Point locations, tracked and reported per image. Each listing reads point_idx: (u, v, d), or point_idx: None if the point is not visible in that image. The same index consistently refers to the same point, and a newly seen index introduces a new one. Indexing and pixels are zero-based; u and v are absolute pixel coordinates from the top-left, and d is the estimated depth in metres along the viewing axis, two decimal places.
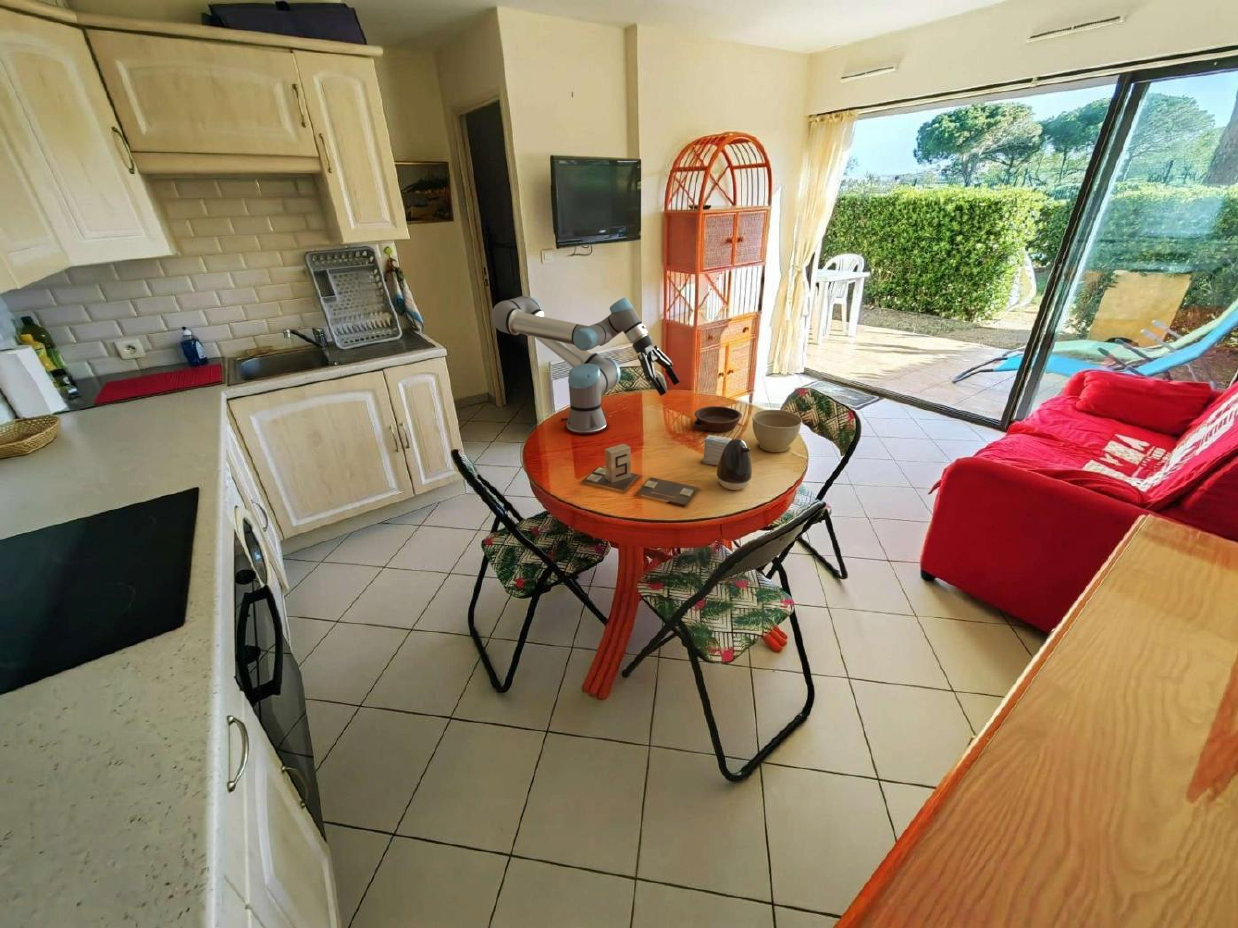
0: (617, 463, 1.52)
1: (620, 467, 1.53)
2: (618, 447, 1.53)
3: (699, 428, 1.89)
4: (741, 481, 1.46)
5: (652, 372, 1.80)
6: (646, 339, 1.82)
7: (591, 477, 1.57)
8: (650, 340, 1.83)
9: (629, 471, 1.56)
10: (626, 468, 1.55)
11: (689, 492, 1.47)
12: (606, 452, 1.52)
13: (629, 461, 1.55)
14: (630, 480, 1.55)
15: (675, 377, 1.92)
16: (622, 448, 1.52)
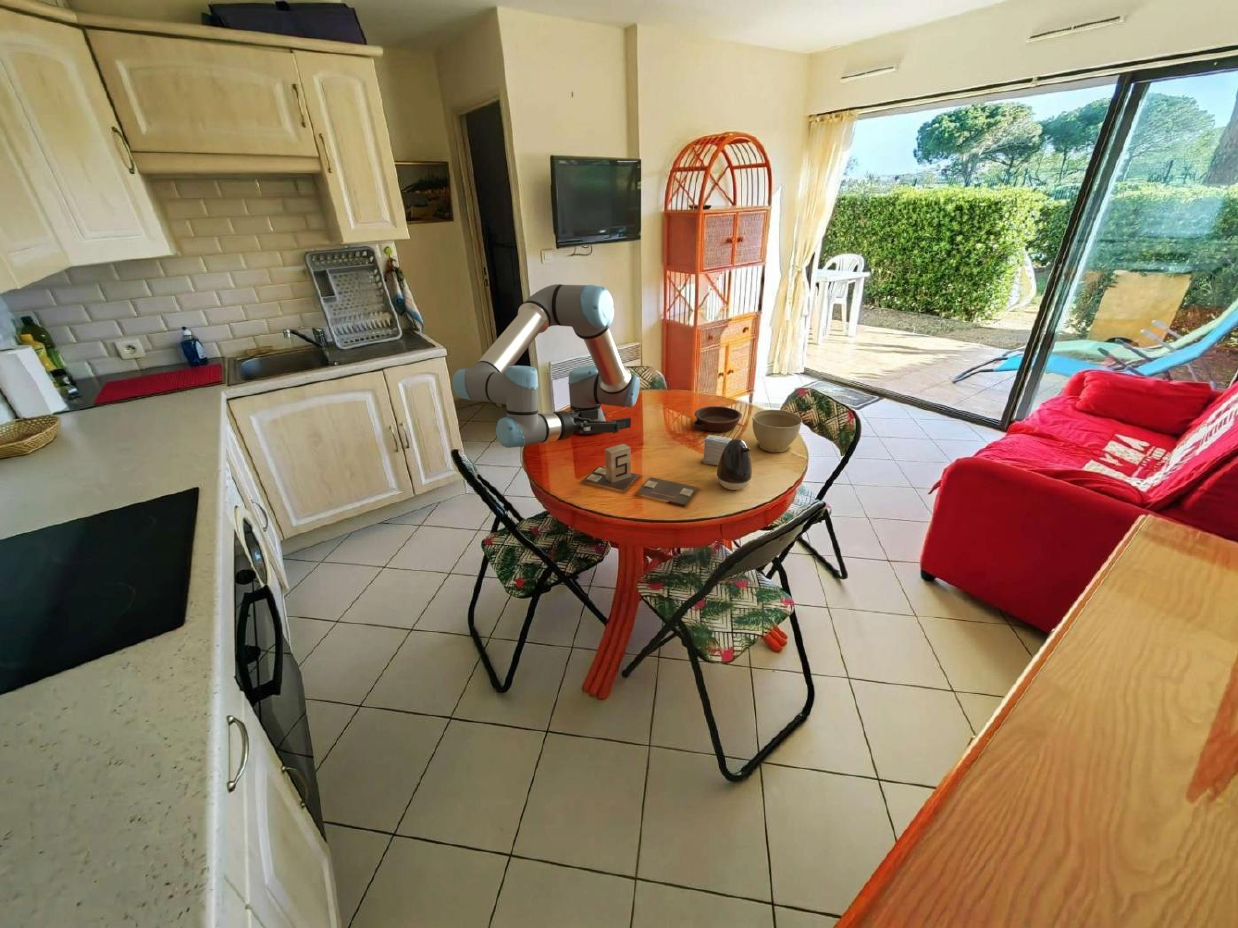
0: (617, 463, 1.52)
1: (620, 467, 1.53)
2: (618, 447, 1.53)
3: (699, 428, 1.89)
4: (741, 481, 1.46)
5: None
6: None
7: (591, 477, 1.57)
8: None
9: (629, 471, 1.56)
10: (626, 468, 1.55)
11: (689, 492, 1.47)
12: (606, 452, 1.52)
13: (629, 461, 1.55)
14: (630, 480, 1.55)
15: None
16: (622, 448, 1.52)
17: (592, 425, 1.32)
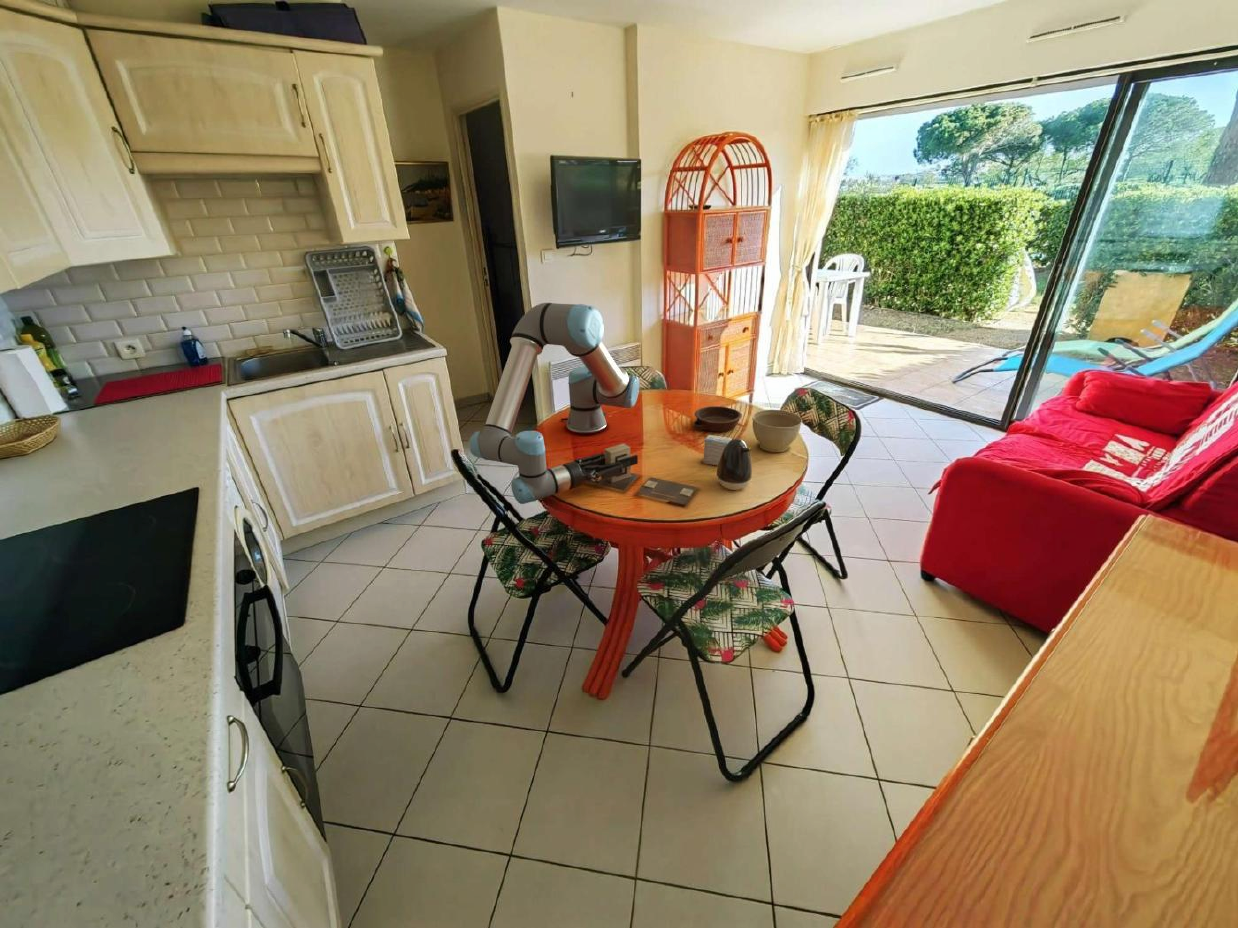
0: None
1: None
2: (618, 447, 1.53)
3: (699, 428, 1.89)
4: (741, 481, 1.46)
5: None
6: None
7: None
8: None
9: (629, 471, 1.56)
10: (626, 468, 1.55)
11: (689, 492, 1.47)
12: (606, 452, 1.52)
13: None
14: (630, 480, 1.55)
15: None
16: (622, 447, 1.52)
17: (602, 474, 1.45)
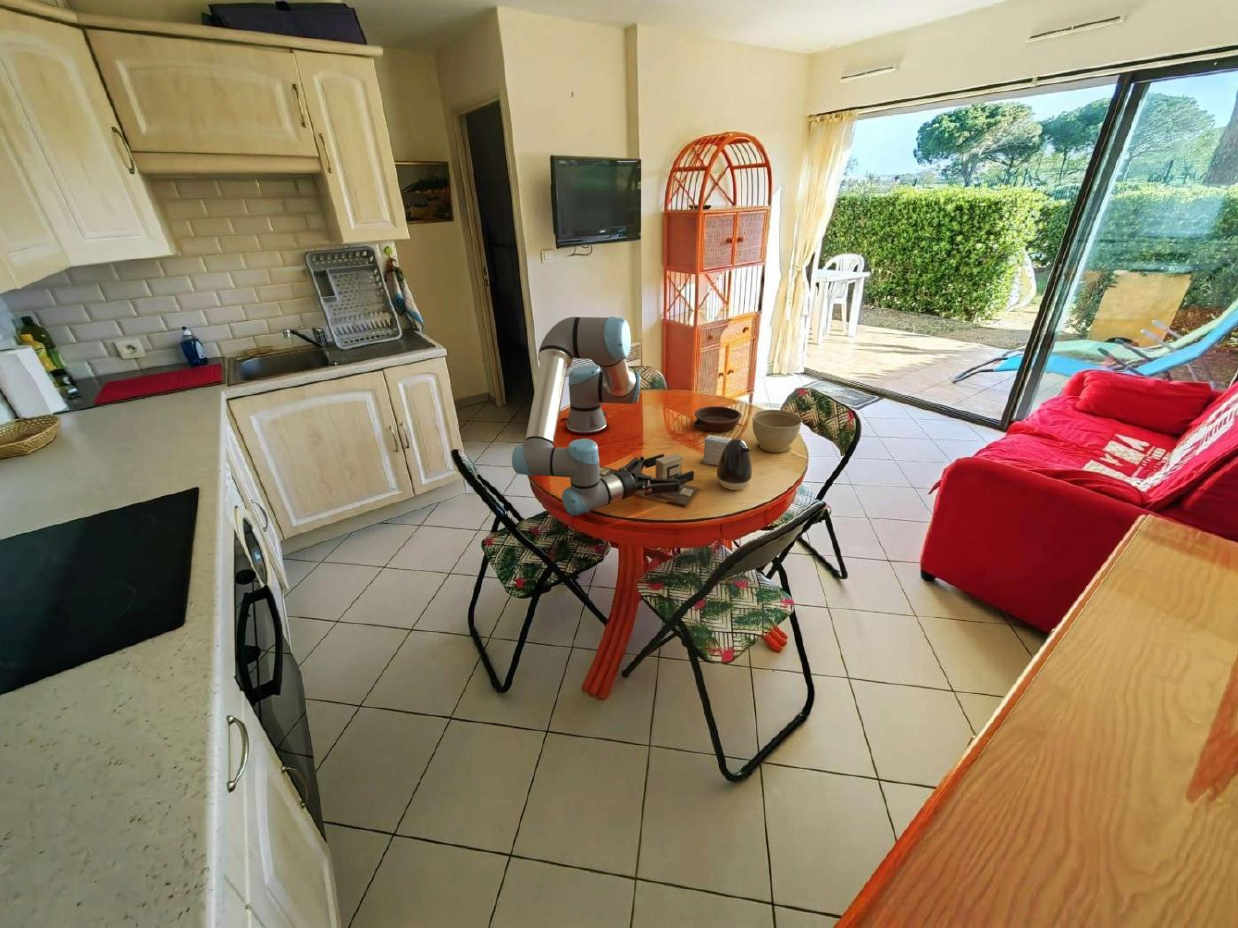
0: (669, 474, 1.45)
1: (671, 478, 1.47)
2: (669, 457, 1.46)
3: (699, 428, 1.89)
4: (741, 481, 1.46)
5: None
6: None
7: None
8: None
9: None
10: None
11: (689, 492, 1.47)
12: (657, 462, 1.45)
13: (680, 471, 1.48)
14: None
15: None
16: (674, 458, 1.46)
17: (653, 487, 1.36)
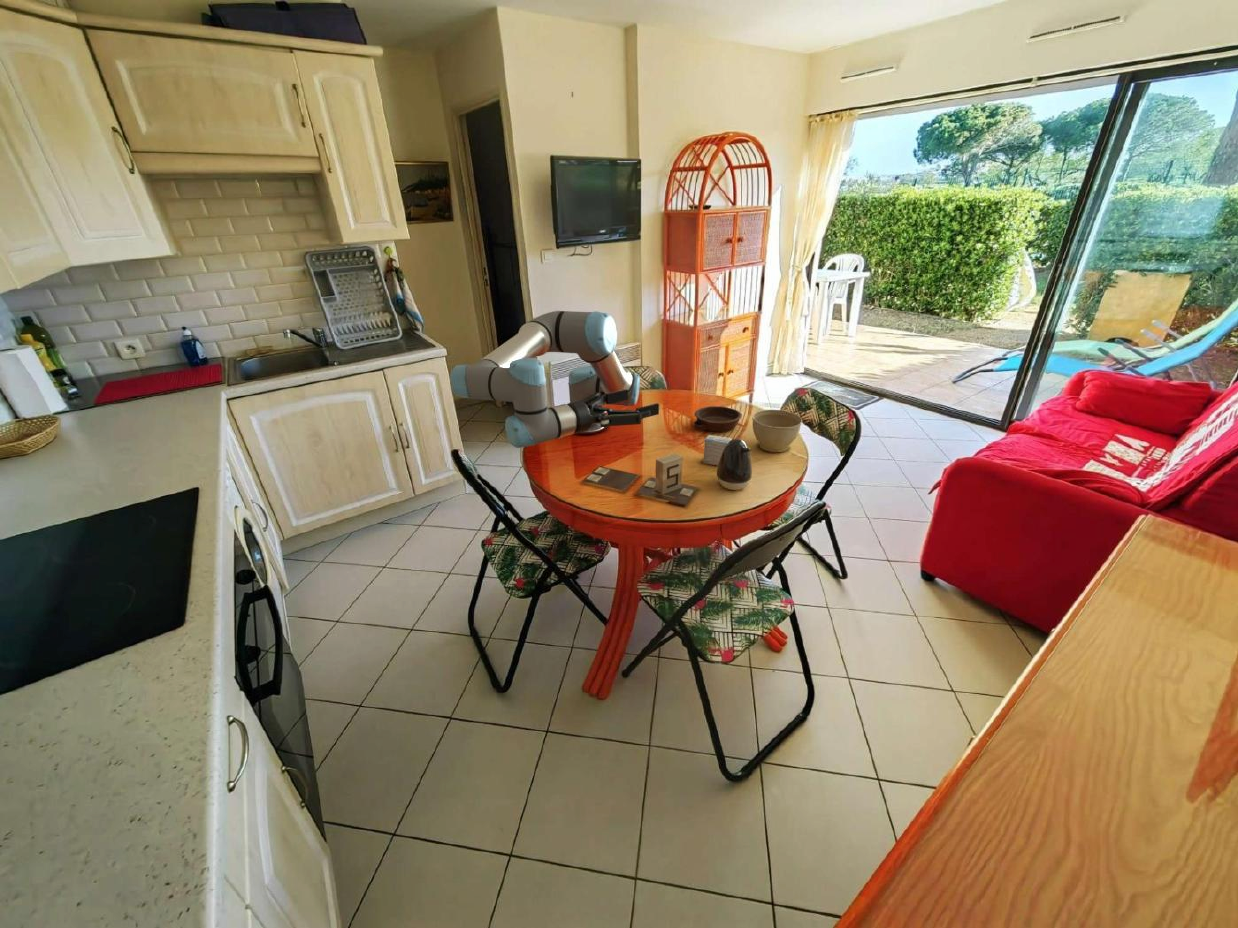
0: (669, 474, 1.45)
1: (671, 478, 1.47)
2: (669, 457, 1.46)
3: (699, 428, 1.89)
4: (741, 481, 1.46)
5: None
6: None
7: (591, 477, 1.57)
8: None
9: (680, 482, 1.49)
10: (677, 479, 1.48)
11: (689, 492, 1.47)
12: (657, 462, 1.45)
13: (680, 471, 1.48)
14: (630, 480, 1.55)
15: None
16: (674, 458, 1.46)
17: (610, 418, 1.20)
